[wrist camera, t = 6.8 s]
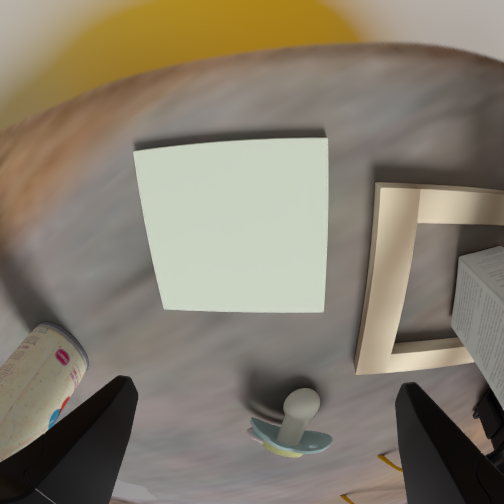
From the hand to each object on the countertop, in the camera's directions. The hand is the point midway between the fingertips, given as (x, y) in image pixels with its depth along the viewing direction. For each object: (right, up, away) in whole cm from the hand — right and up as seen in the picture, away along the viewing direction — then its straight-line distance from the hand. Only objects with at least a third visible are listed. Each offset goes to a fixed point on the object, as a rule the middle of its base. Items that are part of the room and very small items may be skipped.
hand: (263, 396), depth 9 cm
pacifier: (+3, -11, +19) cm, 22 cm away
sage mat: (-1, +5, +11) cm, 12 cm away
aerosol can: (-19, -5, +18) cm, 27 cm away
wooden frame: (+16, +2, +10) cm, 19 cm away
